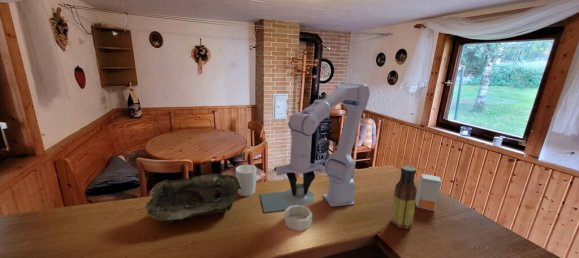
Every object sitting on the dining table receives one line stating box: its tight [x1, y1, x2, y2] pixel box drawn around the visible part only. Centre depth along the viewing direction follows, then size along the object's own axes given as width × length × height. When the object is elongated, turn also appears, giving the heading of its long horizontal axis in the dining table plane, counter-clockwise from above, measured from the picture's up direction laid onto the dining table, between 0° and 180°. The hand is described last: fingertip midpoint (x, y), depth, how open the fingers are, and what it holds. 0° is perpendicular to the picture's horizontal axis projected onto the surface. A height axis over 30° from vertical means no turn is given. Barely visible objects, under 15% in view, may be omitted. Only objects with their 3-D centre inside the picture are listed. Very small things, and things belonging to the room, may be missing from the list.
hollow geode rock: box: [144, 172, 241, 225], centre depth 79 cm, size 28×13×15 cm
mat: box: [259, 190, 294, 214], centre depth 88 cm, size 14×12×1 cm
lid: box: [284, 183, 315, 206], centre depth 74 cm, size 9×9×4 cm
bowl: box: [283, 205, 313, 232], centre depth 76 cm, size 8×8×4 cm
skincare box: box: [415, 173, 442, 212], centre depth 87 cm, size 6×4×12 cm
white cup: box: [235, 164, 257, 197], centre depth 93 cm, size 8×8×10 cm
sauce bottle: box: [391, 165, 418, 230], centre depth 75 cm, size 7×6×20 cm
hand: (299, 193), depth 74 cm, fingers closed on lid, 3 cm apart
